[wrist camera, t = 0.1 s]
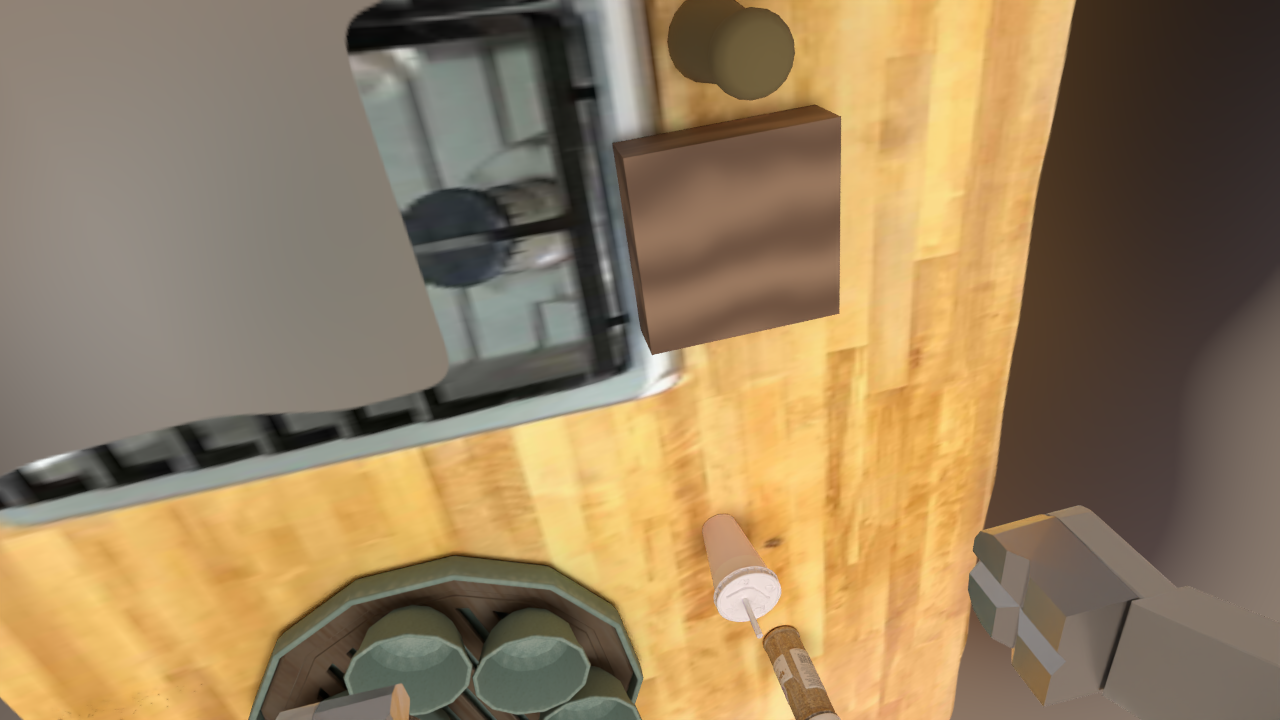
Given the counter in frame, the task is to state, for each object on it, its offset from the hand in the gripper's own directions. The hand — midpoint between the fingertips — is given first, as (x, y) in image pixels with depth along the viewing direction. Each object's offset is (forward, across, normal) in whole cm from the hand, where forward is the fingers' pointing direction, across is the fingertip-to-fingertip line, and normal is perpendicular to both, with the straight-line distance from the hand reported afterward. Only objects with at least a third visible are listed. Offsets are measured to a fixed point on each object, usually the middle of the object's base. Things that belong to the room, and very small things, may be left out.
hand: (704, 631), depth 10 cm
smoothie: (+48, -11, +46) cm, 68 cm away
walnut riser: (+48, -14, +13) cm, 52 cm away
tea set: (+48, +20, +60) cm, 80 cm away
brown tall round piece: (+48, -14, -1) cm, 50 cm away
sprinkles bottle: (+48, -17, +66) cm, 84 cm away
